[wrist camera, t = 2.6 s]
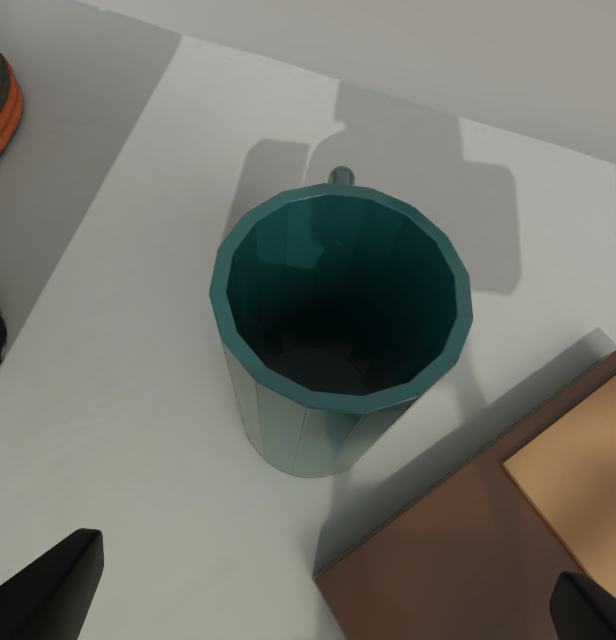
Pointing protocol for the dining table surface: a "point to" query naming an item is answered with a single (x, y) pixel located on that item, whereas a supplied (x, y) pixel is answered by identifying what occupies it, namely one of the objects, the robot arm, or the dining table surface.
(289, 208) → the teal coffee mug
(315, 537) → the dining table surface
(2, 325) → the spotted tube
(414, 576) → the board
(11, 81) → the beer stein
